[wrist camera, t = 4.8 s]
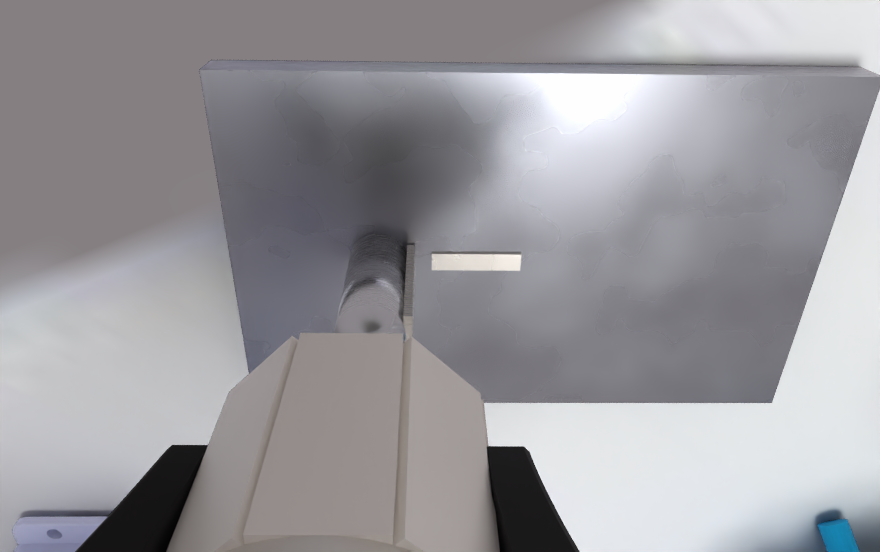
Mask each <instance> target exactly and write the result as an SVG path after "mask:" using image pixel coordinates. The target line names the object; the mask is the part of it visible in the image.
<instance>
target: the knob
mask: <svg viewBox="0 0 880 552" xmlns="http://www.w3.org/2000/svg"><path fill="white" fill-rule="evenodd" d="M487 446H488V438H487V429H486V420H485V410H484V401H483V399H481V394H480V392H478V391H477V390H476V389H475V388H474V387H472V386H471V385H470V384H469V383H467V382H466V381H465V380H464V379H463V378H461V377H460V376H459V375H458V374H457V373H455V372H454V371H453V370H452V369H451V368H449V367H448V366H447V365H446V364H444V363H443V362H442V361H441V360H440V359H438V358H437V357H436V356H435V355H434V354H432V353H431V352H430V351H429V350H428V349H426V348H425V347H424V346H423V345H421V344H420V343H419V342H418V341H417V340H415V339H414V338H413V337H411V338H409V339H408V340H407V341H406V342H405V343H403V334H388V333H300V336H299V339H298V340H297V339H296V338H295V337H293V336H291V337H290V338H289V339H288V340H287V341H286V342H285V343H283V344H282V345H281V346H280V347H279V348H278V349H277V350H276V351H274V352H273V353H272V354H271V355H270V356H269V357H268V358H267V359H265V360H264V361H263V362H262V363H261V364H260V365H259V366H258V367H256V368H255V369H254V370H253V371H252V372H251V373H250V374H249V375H247V376H246V377H245V378H244V379H243V380H242V381H241V382H240V383H238V384H237V385H236V386H235V387H234V388H233V389H232V390H231V391H229V393H228V396H227V398H226V401H225V403H224V406H223V408H222V411H221V414H220V416H219V419H218V421H217V424H216V426H215V429H214V431H213V434H212V436H211V439H210V442H209V444H208V447H207V449H206V452H205V454H204V457H203V459H202V462H201V464H200V467H199V470H198V472H197V475H196V477H195V480H194V482H193V485H192V487H191V490H190V492H189V495H188V498H187V500H186V503H185V505H184V508H183V510H182V513H181V515H180V518H179V520H178V523H177V526H176V528H175V531H174V533H173V536H172V538H171V541H170V543H169V546H168V548H167V551H166V552H500V549H499V540H498V530H497V521H496V512H495V507H494V503H493V498H492V491H491V482H490V472H489V463H488V453H487Z"/></svg>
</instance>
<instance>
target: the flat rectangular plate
mask: <svg viewBox="0 0 880 552" xmlns="http://www.w3.org/2000/svg"><path fill="white" fill-rule="evenodd" d="M199 72H200V78H201V84H202V90H203V96H204V102H205V108H206V115H207V121H208V127H209V133H210V139H211V145H212V151H213V157H214V163H215V169H216V175H217V182H218V188H219V194H220V200H221V206H222V212H223V218H224V224H225V230H226V236H227V242H228V248H229V255H230V261H231V267H232V273H233V279H234V285H235V291H236V297H237V303H238V309H239V315H240V321H241V328H242V334H243V340H244V346H245V352H246V358H247V364H248V370H249V374H250V373H251V372H252V371H253V370H254V369H255V368H256V367H258V366H259V365H260V364H261V363H262V362H263V361H264V360H265V359H267V358H268V357H269V356H270V355H271V354H272V353H273V352H274V351H276V350H277V349H278V348H279V347H280V346H281V345H282V344H283V343H285V342H286V341H287V340H288V339H289V338H290V337H291V336H293V337H295V338H296V339H297V340H298V339H299V336H300V333H388V334H403V343H405V342H406V341H407V340H408V339H409V338H411V337H413V338H414V339H415V340H417V341H418V342H419V343H420V344H421V345H423V346H424V347H425V348H426V349H428V350H429V351H430V352H431V353H432V354H434V355H435V356H436V357H437V358H438V359H440V360H441V361H442V362H443V363H444V364H446V365H447V366H448V367H449V368H451V369H452V370H453V371H454V372H455V373H457V374H458V375H459V376H460V377H461V378H463V379H464V380H465V381H466V382H467V383H469V384H470V385H471V386H472V387H474V388H475V389H476V390H477V391H478V392H480V394H481V399H483V401H484V403H772V401H773V398H774V395H775V392H776V389H777V386H778V383H779V380H780V377H781V374H782V372H783V369H784V366H785V363H786V360H787V357H788V354H789V351H790V348H791V345H792V342H793V340H794V337H795V334H796V331H797V328H798V325H799V322H800V319H801V316H802V313H803V310H804V308H805V305H806V302H807V299H808V296H809V293H810V290H811V287H812V284H813V281H814V278H815V276H816V273H817V270H818V267H819V264H820V261H821V258H822V255H823V252H824V249H825V246H826V244H827V241H828V238H829V235H830V232H831V229H832V226H833V223H834V220H835V217H836V214H837V212H838V209H839V206H840V203H841V200H842V197H843V194H844V191H845V188H846V185H847V182H848V180H849V177H850V174H851V171H852V168H853V165H854V162H855V159H856V156H857V153H858V150H859V148H860V145H861V142H862V139H863V136H864V133H865V130H866V127H867V124H868V121H869V118H870V116H871V113H872V110H873V107H874V104H875V101H876V98H877V95H878V92H879V89H880V75H878V74H876V73H873V72H871V71H869V70H866V69H864V68H862V67H829V66H737V65H645V64H552V63H460V62H367V61H276V60H275V61H274V60H271V61H270V60H269V61H268V60H266V61H265V60H211V61H209V62H208V63H207V64H205V65H204V66H203V67H202V68H201V69H199Z"/></svg>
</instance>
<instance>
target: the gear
mask: <svg viewBox="0 0 880 552" xmlns="http://www.w3.org/2000/svg"><path fill="white" fill-rule="evenodd" d="M818 528H819V531H820V533H821V536H822V539H823V541H824V544H825V547H826V549H827V552H860V551H859V549H858V546H857V544H856V541H855V538H854V536H853V533H852V531H851V528H850V525H849V523H848V520H846V519H836V520H832V521H827V522H822V523H819V524H818Z"/></svg>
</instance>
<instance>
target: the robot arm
mask: <svg viewBox="0 0 880 552" xmlns="http://www.w3.org/2000/svg"><path fill="white" fill-rule="evenodd" d="M207 447H208V445H172V446H171V447H170V448H168V449H167V450H166V451H165V453H164V454H163V455H162V456H161V457H160V458H159V459H158V460H157V462H156V463H155V464H154V465H153V466H152V467H151V468H150V470H149V471H148V472H147V473H146V474H145V475H144V476H143V478H142V479H141V480H140V481H139V482H138V483H137V484H136V486H135V487H134V488H133V489H132V490H131V491H130V492H129V493H128V495H127V496H126V497H125V498H124V499H123V500H122V501H121V502H120V504H119V505H118V506H117V507H116V508H115V509H114V510H113V511H112V512H111V514H110V515H109V516H92V517H22V518H20V519H18V521H17V522H16V524H15V525H14V527H13V529H12V533H13V535H14V537H15V540H16V542H17V544H18V545H17V547H16V549H15V550H14V552H166V551H167V548H168V546H169V543H170V541H171V538H172V536H173V533H174V531H175V528H176V526H177V523H178V520H179V518H180V515H181V513H182V510H183V508H184V505H185V503H186V500H187V498H188V495H189V492H190V490H191V487H192V485H193V482H194V480H195V477H196V475H197V472H198V470H199V467H200V464H201V462H202V459H203V457H204V454H205V452H206V449H207ZM487 453H488V463H489V472H490V482H491V491H492V498H493V503H494V507H495V512H496V521H497V530H498V540H499V549H500V552H579V550H578V548H577V546H576V545H575V543H574V541H573V540H572V538H571V536H570V534H569V533H568V531H567V529H566V527H565V526H564V524H563V522H562V520H561V518H560V516H559V515H558V513H557V511H556V509H555V507H554V505H553V503H552V501H551V499H550V497H549V495H548V493H547V491H546V489H545V487H544V485H543V483H542V481H541V478H540V476H539V474H538V472H537V469H536V467H535V465H534V463H533V460H532V458H531V455H530V452H529V451H528V450H527V449H526V448H525V447H497V446H487Z"/></svg>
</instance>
